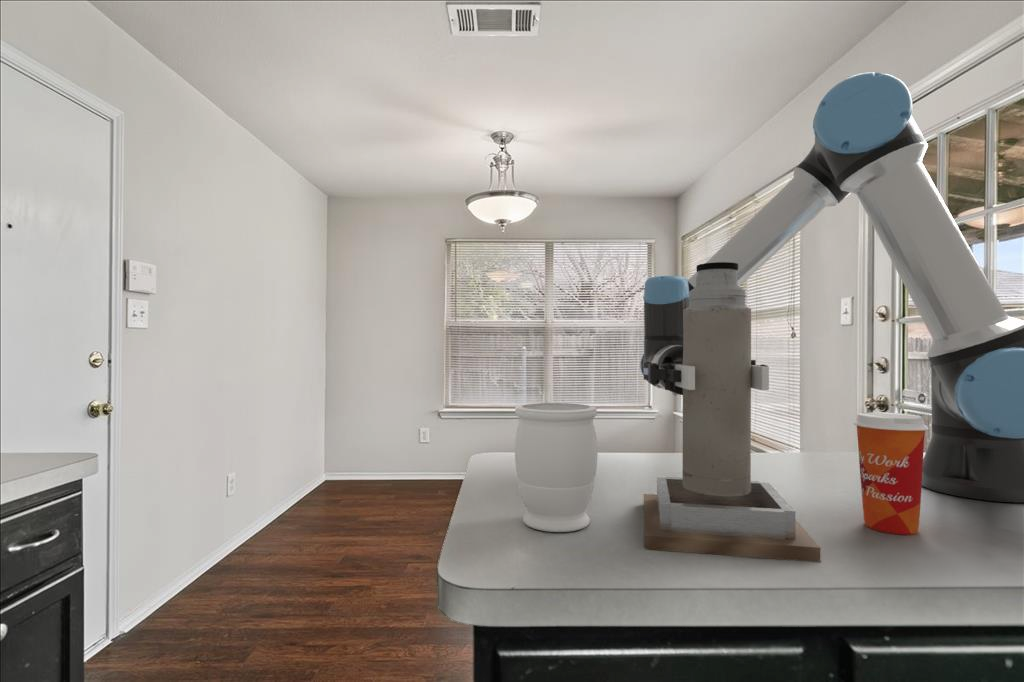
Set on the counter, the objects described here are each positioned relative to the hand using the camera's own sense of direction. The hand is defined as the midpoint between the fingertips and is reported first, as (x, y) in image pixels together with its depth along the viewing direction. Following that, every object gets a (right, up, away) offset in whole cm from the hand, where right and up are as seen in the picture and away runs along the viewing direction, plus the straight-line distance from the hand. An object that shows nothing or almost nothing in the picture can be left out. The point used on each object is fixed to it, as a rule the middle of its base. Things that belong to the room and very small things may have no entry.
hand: (728, 378), depth 65 cm
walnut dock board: (+1, -19, +5) cm, 20 cm away
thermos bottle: (0, -14, +5) cm, 15 cm away
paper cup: (+22, -19, +5) cm, 30 cm away
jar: (-19, -19, +7) cm, 28 cm away
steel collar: (+1, -18, +5) cm, 18 cm away
